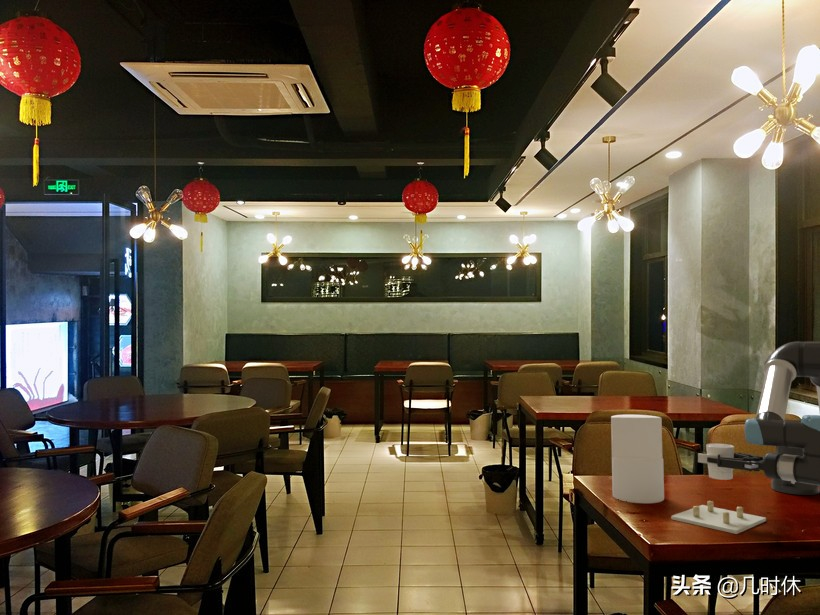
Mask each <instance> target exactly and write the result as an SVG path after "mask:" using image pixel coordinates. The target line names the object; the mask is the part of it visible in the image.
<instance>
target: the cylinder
mask: <svg viewBox="0 0 820 615" xmlns="http://www.w3.org/2000/svg"><path fill="white" fill-rule="evenodd" d="M662 420H663V419H662V417H661V416H657V415H656V416H655V415H650V414H649V415H647V414H615V415H612V416H610V426H611V427H610V428H611V430H610V431H611V435H610V436H611V473H612V474H611V475H612V476H611V479H612V480H611V481H612V482H611V484H612V497H613V498H614V499H617V500H618V499H619V500H618V501H623V502H626V501H627V503H632V504H633V503H635V504H656V503H661V502H664V501H665V482H664V480H665V478H664V476H665V471H664V458H663V432H662V431H663V426H662V423H663V422H662Z"/></svg>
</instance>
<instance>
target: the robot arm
mask: <svg viewBox="0 0 820 615" xmlns="http://www.w3.org/2000/svg"><path fill="white" fill-rule="evenodd" d="M762 374H763V375H764V379H763V383H762V384H763V385H762V388H761V392H760V397H759V401H758V406H757V409H756V414H755V417H753V418H747V419H746V420H745V422H744V438H745V441H746V442H747V443H748V444H751V445H757V446H758V445H759V446H767V447H775V452H771V451H770V452H767V453H766V454H765V456H762V455H758V454H757V455H756V454H751V453H743V452H740V451H739V452H734V458H725V457H720V455H718V456H715V455H708V454H707V453H701V452H700V453H697V463H701V464H707V465H708V464H714V465H717V466H718V467H725V468H733V470H734V469H735V470H740V471H741V470H742V471H743V470H744V471H748V472H760V471H763V473H764V475H765V477H766V478H767V479H771V482H770V483H771V485H770V486H771V489H772V490H774V491H776V492H780V493H783V494H789V495H798V496H799V495H800V496H814V495H819V494H820V414H818V415H816V414H805V415H802V416H801V420H786V414H787V409H788V404H789V403H788V402H789V397H790V392H791V386H792V382H793V381H794V380H795V379H796V378H799V377H800V378H801V377H802V378H809V379H810V381H811V383H812V384H813V385H814V386H815V387H816V393H817V394H816V395H817V401H818V410H819V412H820V341H799V340H798V341H791V342H787V343H785V344H783V345H781V346H779V347H778V348H776V349H775V350H774V351H772V352H771V353H770V354H769V355H768V357H767V358H766V360H765V361H764V364H763V368H762Z"/></svg>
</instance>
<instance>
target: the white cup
mask: <svg viewBox="0 0 820 615" xmlns="http://www.w3.org/2000/svg"><path fill="white" fill-rule="evenodd" d="M705 447H706V454H708V455H715V456H718V455H720V457H725V458H734V453H735V445H732V444H727V443H706V445H705ZM707 468H708V469H707V470H708V477H709V478H710V479H713V480H721V481H722V480H724V481H727V480H732V479H734V478H733V477H734V469H733V468H725V467H718V466H717V465H714V464H707Z"/></svg>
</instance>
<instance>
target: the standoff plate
mask: <svg viewBox="0 0 820 615" xmlns="http://www.w3.org/2000/svg"><path fill="white" fill-rule="evenodd" d="M706 502H707V504H706V505H705V504H701V505H693V506H692V508H690V509H687V510H684V511H682V512H678V513H675V514H673V515H671V516H670V519H671V520H674V521H677V522H681V523H686V524H691V525H695V526H699V527H704V528H709V529H712V530H717V531H720V532H721V531H722V532H727V533H730V534H735V535H737V534H738V535H739V534H740V533H742V532H745V531H747V530H749V529H751V528H754V527H756V526H758V525H761V524H763V523H764V522H767V517H764V516H760V515H756V514H755V515H754V514H749V513H745V512H744V506H743V507H742V506H737V507H736V511H734V510H729V509H726V508H719V507H715V505H714V504H715V503H714V501H713V500H712V501H711V500H707V501H706Z"/></svg>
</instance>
